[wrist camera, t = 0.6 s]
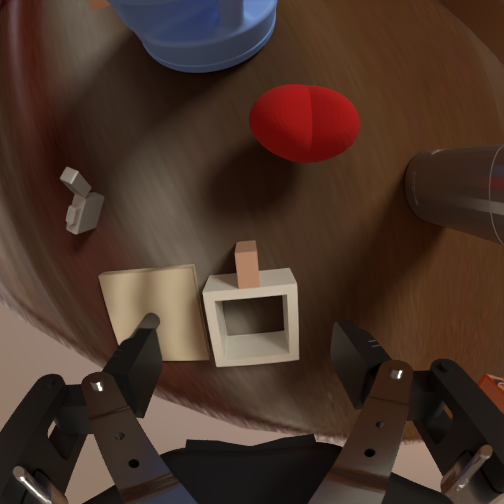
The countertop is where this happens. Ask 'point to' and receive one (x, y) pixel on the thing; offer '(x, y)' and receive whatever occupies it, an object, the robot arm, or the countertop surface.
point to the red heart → (304, 122)
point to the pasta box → (493, 389)
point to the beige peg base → (158, 308)
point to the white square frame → (251, 286)
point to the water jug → (199, 30)
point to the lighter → (81, 203)
